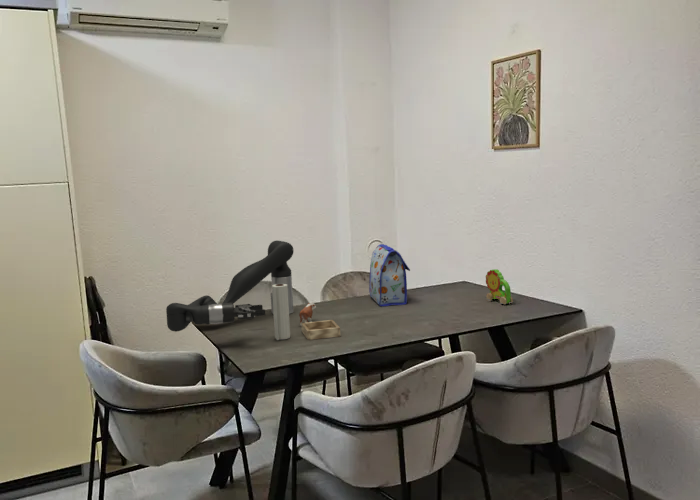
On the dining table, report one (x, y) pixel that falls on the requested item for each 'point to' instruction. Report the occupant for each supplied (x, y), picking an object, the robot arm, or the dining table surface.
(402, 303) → the lunch bag
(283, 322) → the paper towel roll
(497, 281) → the toy lion
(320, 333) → the wooden tray
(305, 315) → the bull figurine
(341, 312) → the dining table surface
